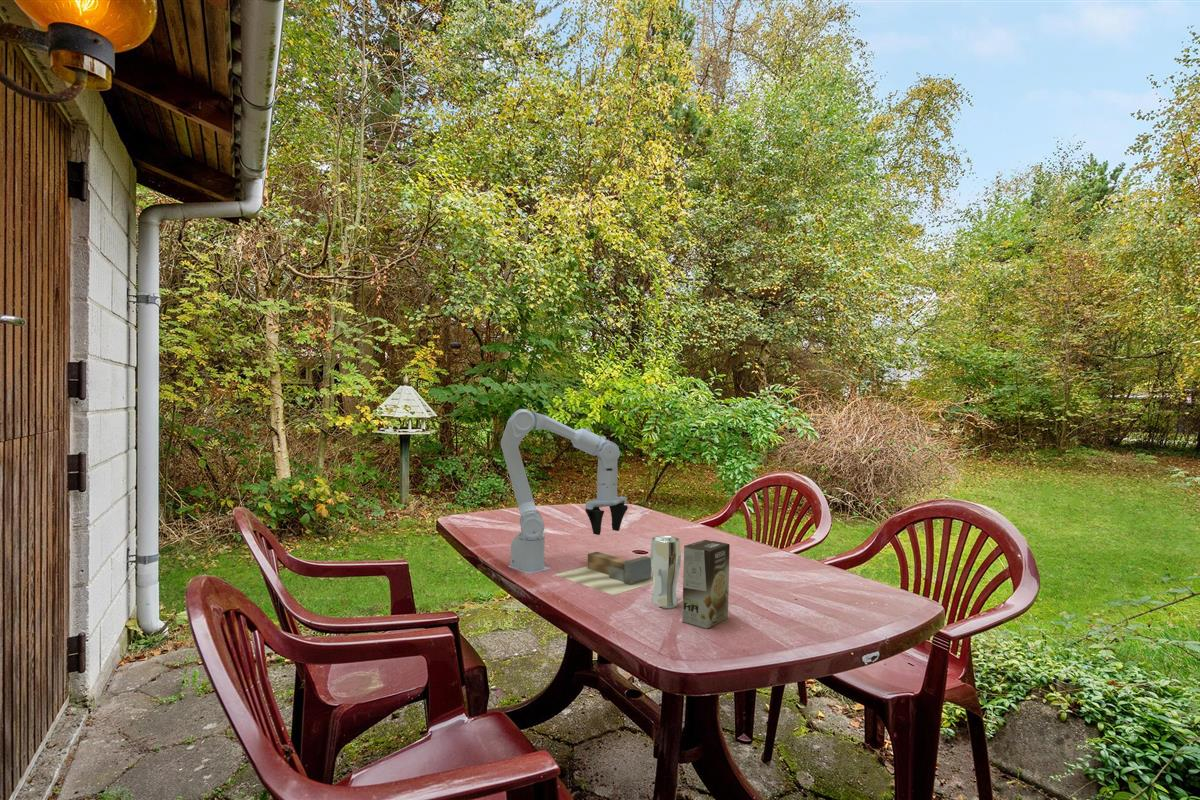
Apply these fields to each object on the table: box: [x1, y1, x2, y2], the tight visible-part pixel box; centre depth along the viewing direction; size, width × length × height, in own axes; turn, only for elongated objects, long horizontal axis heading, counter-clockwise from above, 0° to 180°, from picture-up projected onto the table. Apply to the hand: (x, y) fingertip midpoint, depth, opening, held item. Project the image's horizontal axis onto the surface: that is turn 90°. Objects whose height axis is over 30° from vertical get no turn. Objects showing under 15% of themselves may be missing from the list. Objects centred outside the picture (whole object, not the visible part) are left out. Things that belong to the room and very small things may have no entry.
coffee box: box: [681, 539, 731, 629], centre depth 124 cm, size 9×6×16 cm
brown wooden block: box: [587, 551, 630, 575], centre depth 156 cm, size 14×4×4 cm, turn 45°
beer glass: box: [649, 535, 682, 610], centre depth 134 cm, size 7×7×15 cm
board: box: [553, 565, 653, 596], centre depth 152 cm, size 22×18×1 cm
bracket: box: [609, 555, 652, 585], centre depth 151 cm, size 8×8×6 cm
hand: (606, 532), depth 163 cm, fingers open, 7 cm apart
